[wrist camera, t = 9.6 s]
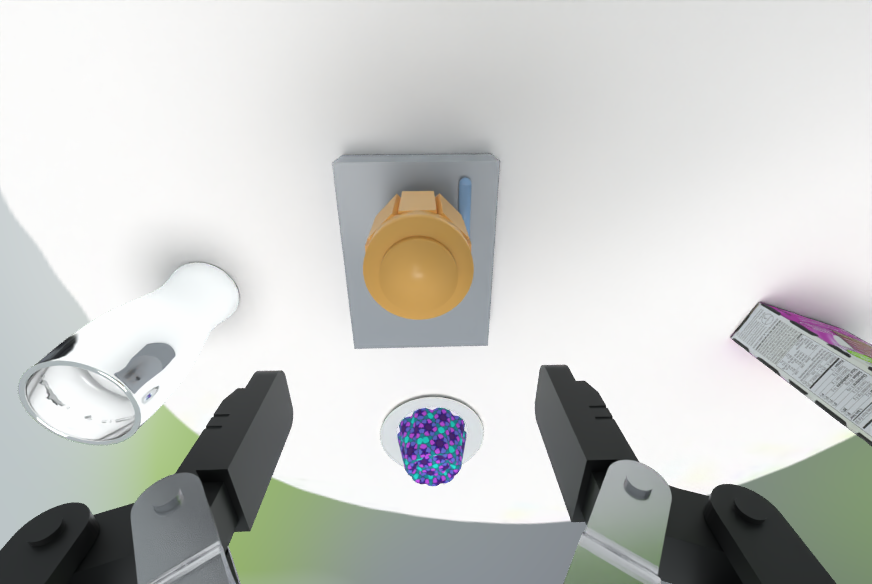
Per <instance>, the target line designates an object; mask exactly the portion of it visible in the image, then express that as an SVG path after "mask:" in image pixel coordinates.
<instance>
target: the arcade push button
mask: <svg viewBox="0 0 872 584" xmlns="http://www.w3.org/2000/svg"><path fill="white" fill-rule="evenodd" d="M473 274H474V264H473V258H472V255H471V241H470V238H469V235H468V232H467V229H466V226H465V223H464V220H463V218H462V215H461V214H460V213H459V212H458V211H457V210H456V209H455V208H454V207H453V206H452V205H451V204H450V203H449V202H448V201H447V200H446V199H445V198H444V197H443V196H442V195H441V194H440V193H439V194H438V195H437V196H436V197H435V195H434V191H402V194H401V197H400V196H399V195H398V194H396V195H395V196H394V197H393V198H392V199H391V200H390V201H389V203H388V204H387V205H386V206H385V207H384V208H383V209H382V210H381V211H380V212H379V213H378V214H377V215H376V217H375V220H374V222H373V225H372V228H371V230H370V233H369V236H368V238H367V241H366V244H365V257H364V261H363V276H364V281H365V284H366V287H367V289H368V291H369V293H370V294H371V296H372V297H373V299H374V300H375V301H376V302H377V303H378V304H379V305H380V306H381V307H382V308H384V309H385V310H387V311H388V312H390V313H392V314H394V315H397V316H399V317H403V318H406V319H413V320H423V319H430V318H435V317H438V316H441V315H443V314H445V313H447V312H449V311H450V310H452V309H453V308H455V307H456V306H457V305H458V304H459V303H460V302H461V301H462V300H463V299H464V297H465V296H466V294H467V293H468V291H469V289H470V286H471V284H472V280H473Z"/></svg>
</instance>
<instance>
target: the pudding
mask: <svg viewBox="0 0 872 584" xmlns="http://www.w3.org/2000/svg"><path fill="white" fill-rule="evenodd" d="M425 407H441V408H436V409H434V410H430V409H427V408H425ZM420 408H422V409H420ZM445 408H446V409H445ZM417 409H418V410H417ZM447 409H449V410H451V411H453V412H455V413H457V414H458V415H459V416H461V418H460V417H459V416H453V415H452V414H451V412H450V411H449V410H447ZM415 410H416V411H415ZM413 411H414V413H413V415H412V416H411V417H406V418H404V417H405V416H406V415H408V414H409V413H411V412H413ZM403 418H404V419H403ZM402 419H403V420H402ZM401 420H402V421H401ZM463 420H464V421H465V423H466V426H467V430H468V434H467V438H466V432H465V431H464V426H465V423H464V421H463ZM400 421H401V422H400ZM399 423H400V425H399ZM398 425H399V427H400V432H399V433H398V434H397V428H398ZM396 434H397V435H398V440H397V435H396ZM483 436H484V431H483V426H482V422H481V421H480V419H479V417H478V416H477V415H476V413H475V412H474V411H473V410H472V409H470V408H469V407H468V406H466V405H464V404H462V403H460V402H458V401H455V400H452V399H448V398H443V397H425V398H419V399H415V400H412V401H409V402H406V403H404V404H402V405H401V406H399V407H397V408H396V409H395V410H393V411H392V412H391V413H390V414H389V415H388V416H387V418H386V419H385V421H384V423H383V425H382V428H381V431H380V439H381V444H382V446H383V449H384V451H385V452H386V453H387V455H388V456H389V457H390V458H391V459H392V460H393V461H395V462H396V463H398V464H400V465H401V466H404V467H405V470H406V471H407V473H408V475H410V476H412V479H413V480H414V481H415V482H417V483H420V484H427V485H429V486H437V485H439V484H440V483H447V482H450V481H451V480H452V479H453V478H454V475H456V474H458V472H459V470H460V469H461V465H462V464H464V463H465V462H466V461H468V460H469V459H471V458H472V457H473V456H474V455H475V454H476V452H477V451H478V450H479V448H480V446H481V444H482V441H483Z"/></svg>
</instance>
